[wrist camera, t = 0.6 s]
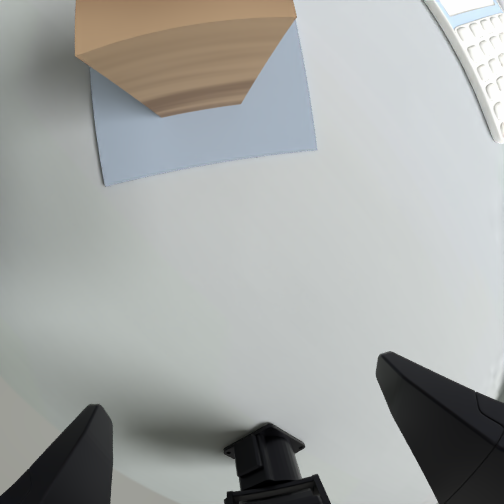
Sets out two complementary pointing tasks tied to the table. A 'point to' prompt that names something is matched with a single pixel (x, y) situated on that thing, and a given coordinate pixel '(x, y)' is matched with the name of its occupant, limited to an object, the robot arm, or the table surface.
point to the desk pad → (206, 123)
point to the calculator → (478, 51)
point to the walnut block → (181, 48)
